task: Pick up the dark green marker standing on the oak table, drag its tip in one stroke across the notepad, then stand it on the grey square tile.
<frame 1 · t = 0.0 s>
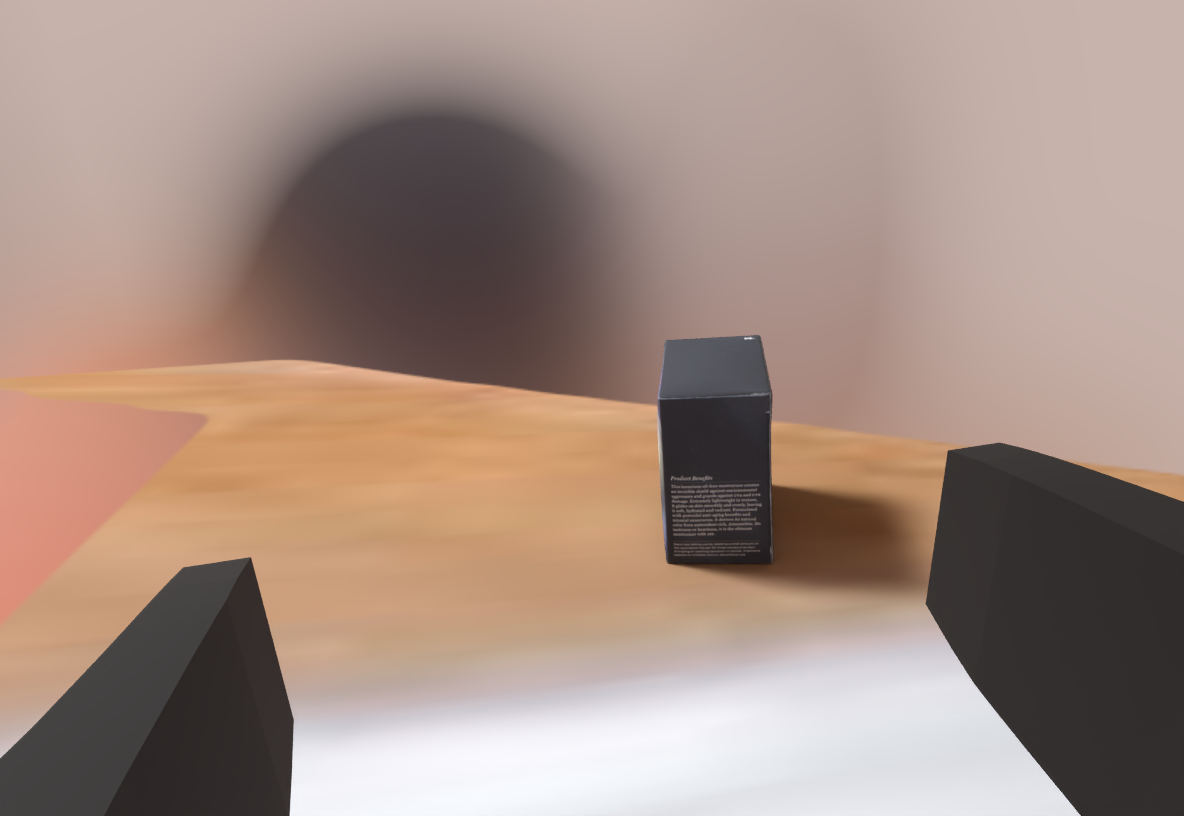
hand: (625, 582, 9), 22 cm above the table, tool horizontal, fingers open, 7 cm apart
small box: (716, 523, 55), on the table
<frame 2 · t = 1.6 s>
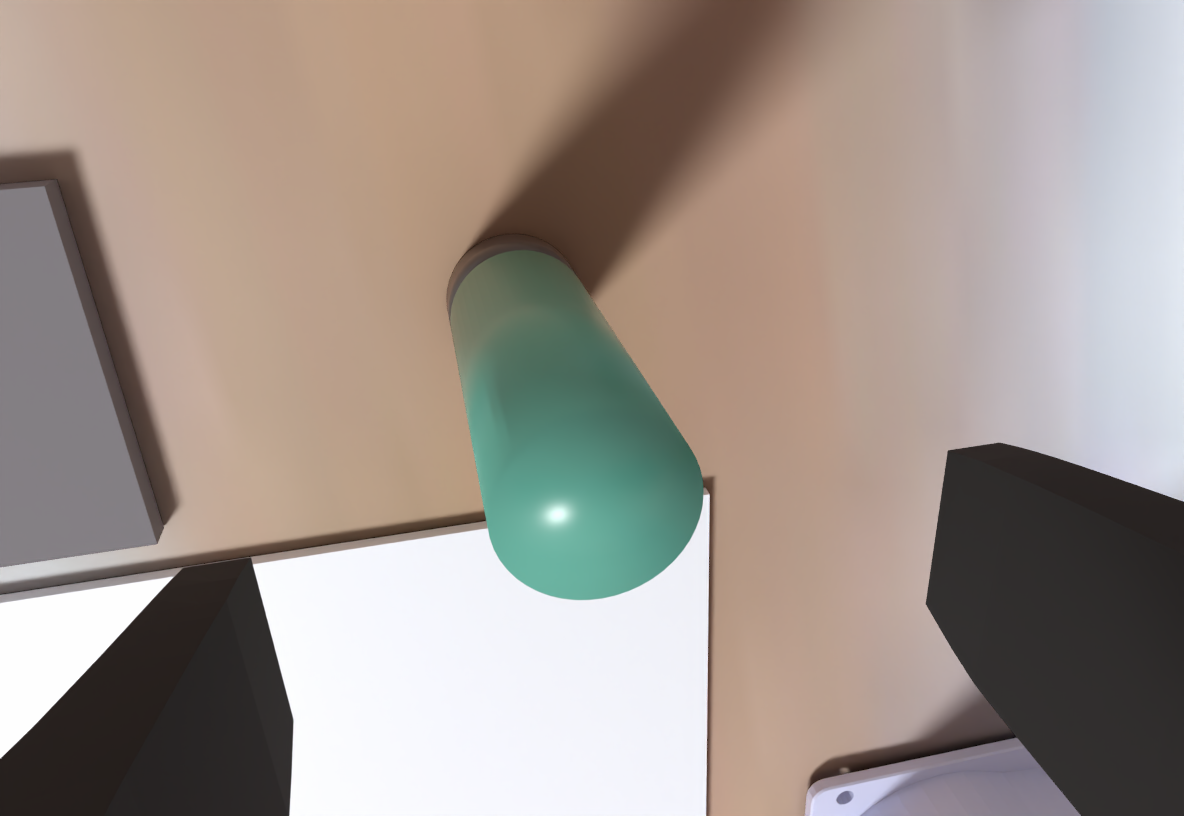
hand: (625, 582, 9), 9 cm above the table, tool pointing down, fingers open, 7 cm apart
notepad: (347, 754, 21), on the table
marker: (513, 298, 17), on the table
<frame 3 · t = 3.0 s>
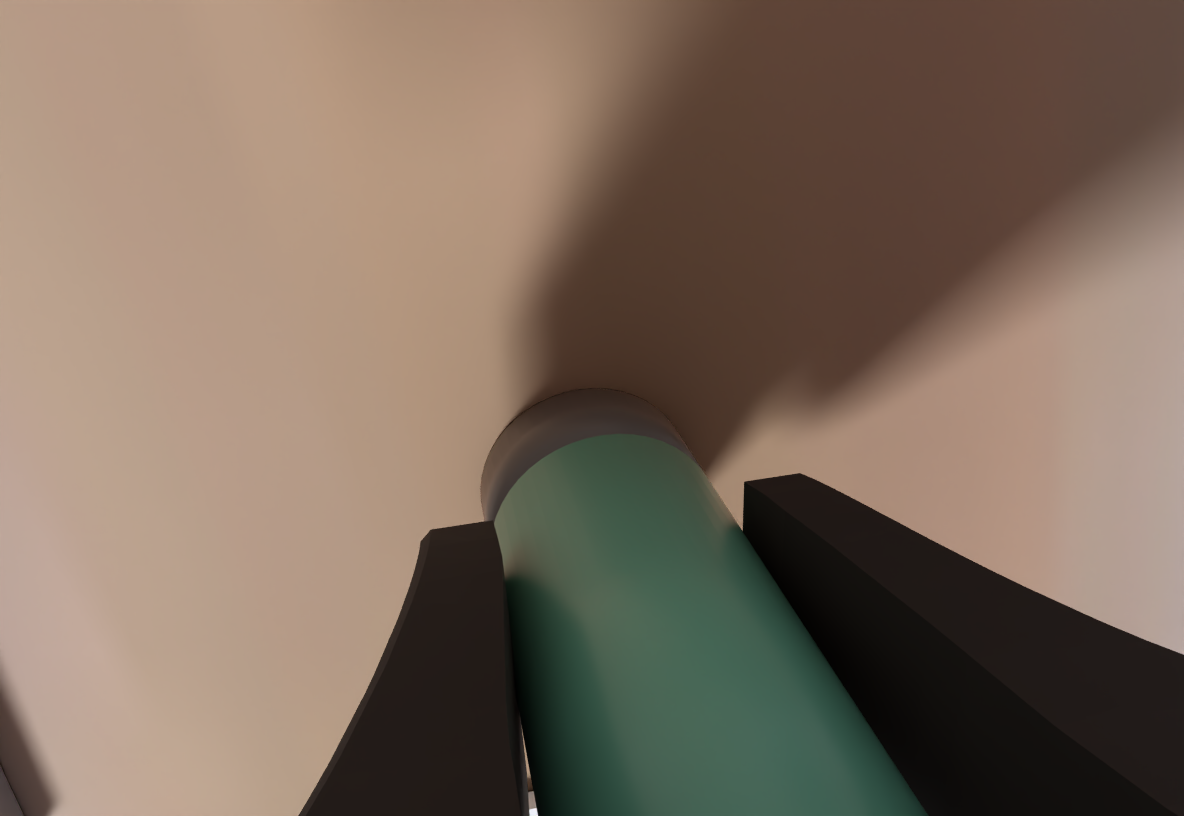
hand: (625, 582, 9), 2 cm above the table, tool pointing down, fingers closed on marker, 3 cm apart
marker: (586, 485, 11), on the table, touching gripper
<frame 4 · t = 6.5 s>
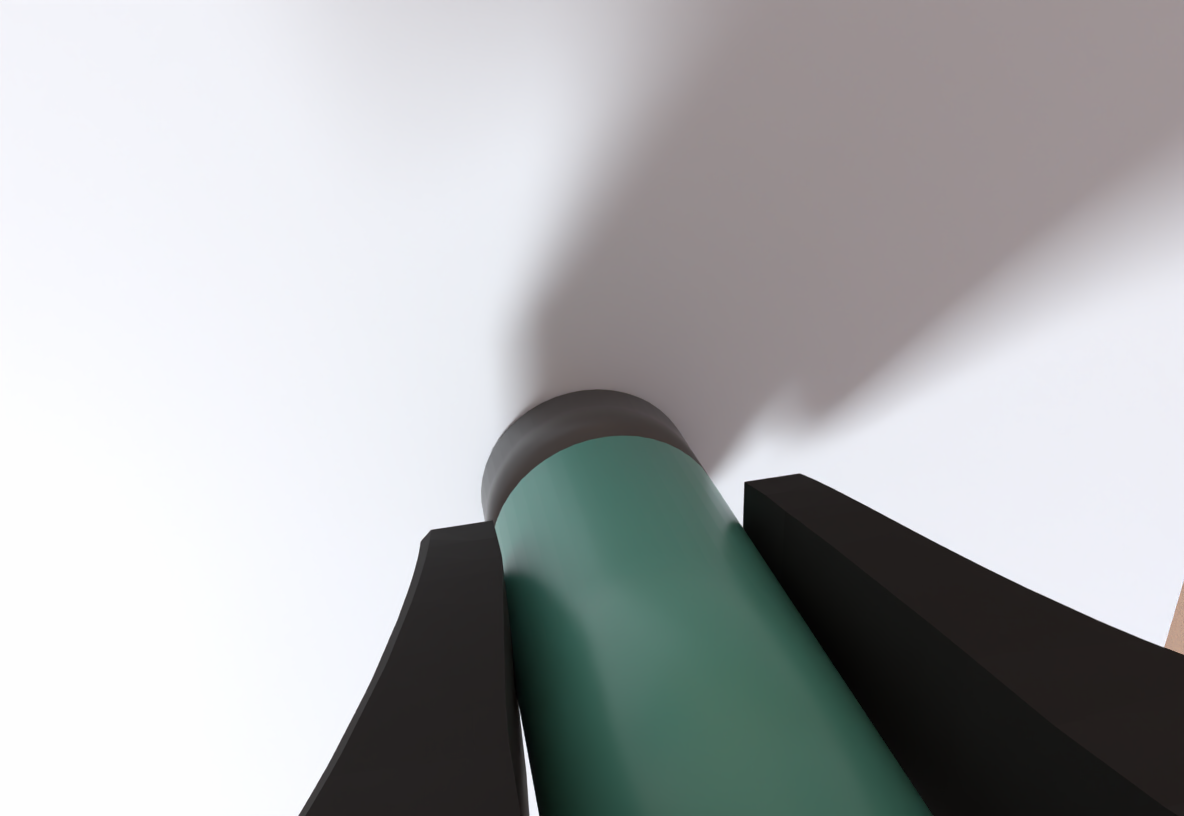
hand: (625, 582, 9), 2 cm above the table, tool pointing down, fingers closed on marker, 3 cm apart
notepad: (604, 475, 11), on the table
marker: (587, 487, 11), resting on notepad, touching gripper
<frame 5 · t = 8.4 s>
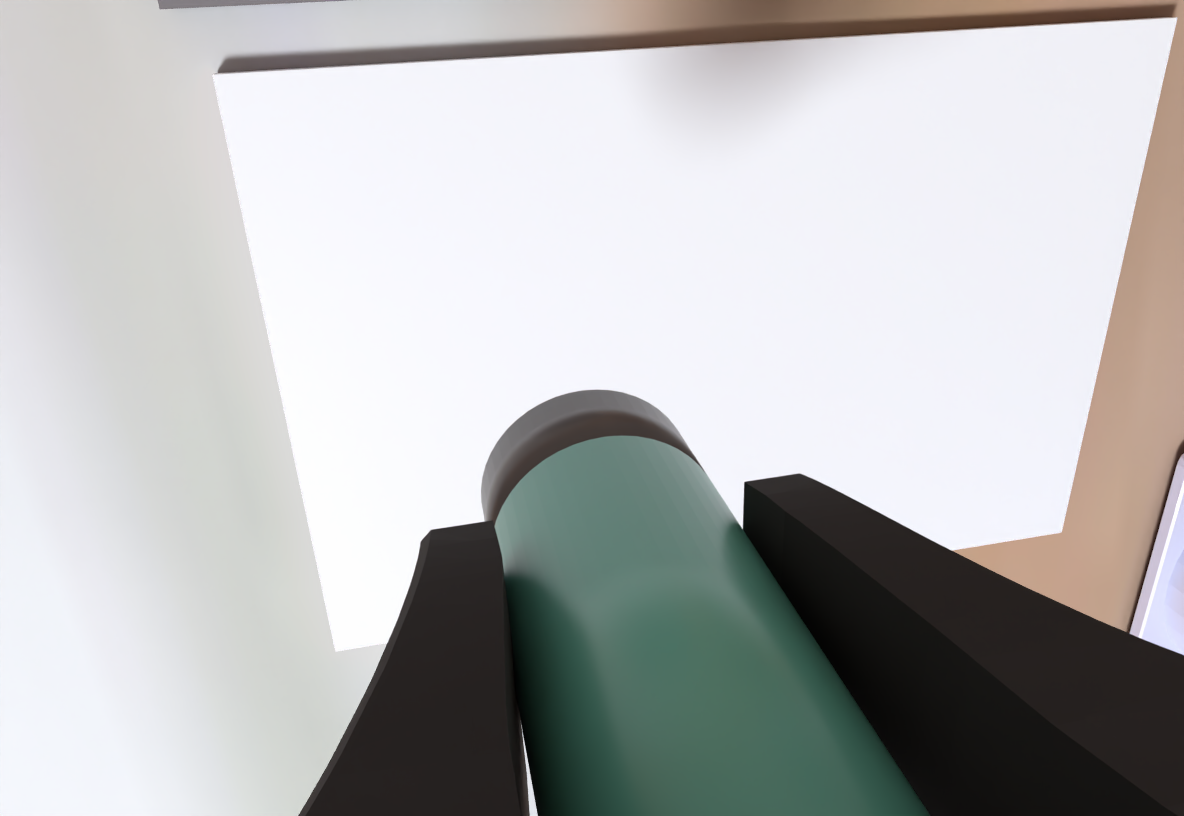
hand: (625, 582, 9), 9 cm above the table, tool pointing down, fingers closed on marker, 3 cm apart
notepad: (725, 348, 19), on the table
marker: (587, 486, 11), point 7 cm above the table, touching gripper
when the fingers open (3 cm above the table, at t = 10.0 s): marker stays where it is, resting on grey square tile.
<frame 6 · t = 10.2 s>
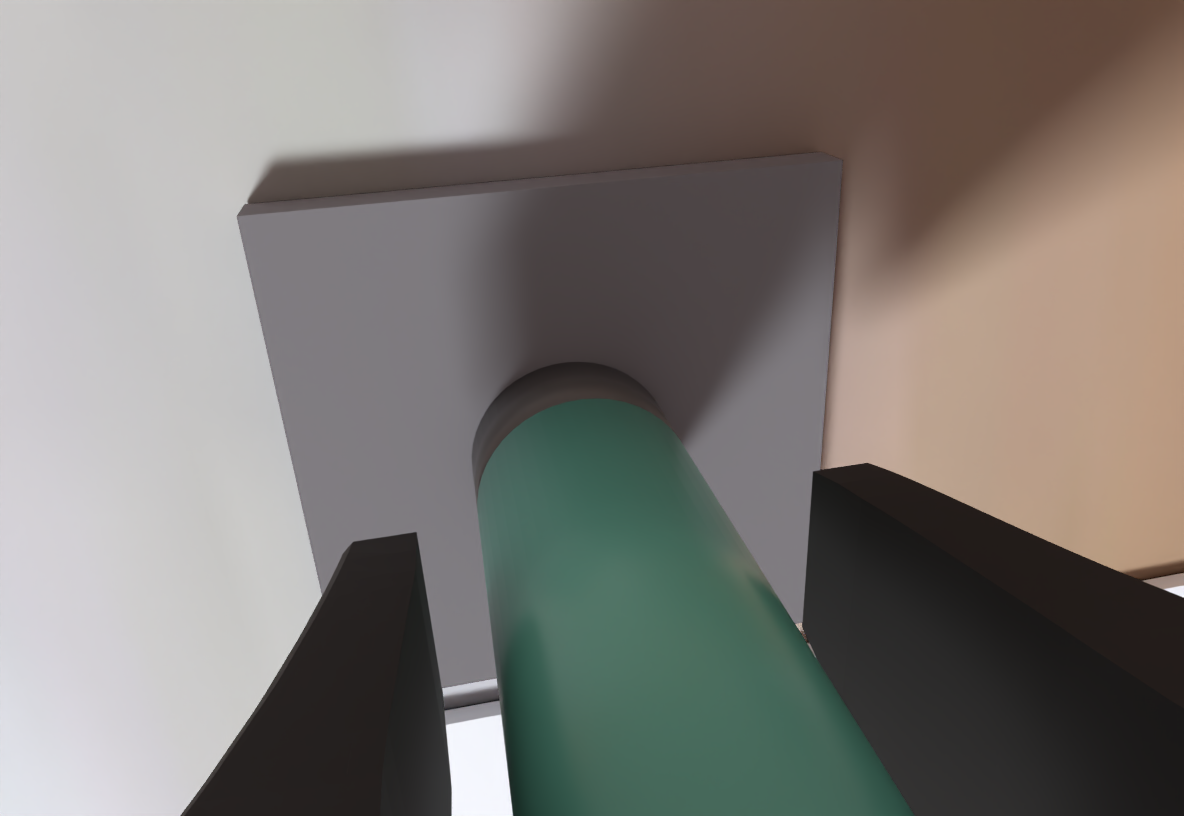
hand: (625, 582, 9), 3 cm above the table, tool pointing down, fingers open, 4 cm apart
grey square tile: (566, 434, 12), on the table
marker: (572, 455, 12), point 1 cm above the table, touching grey square tile
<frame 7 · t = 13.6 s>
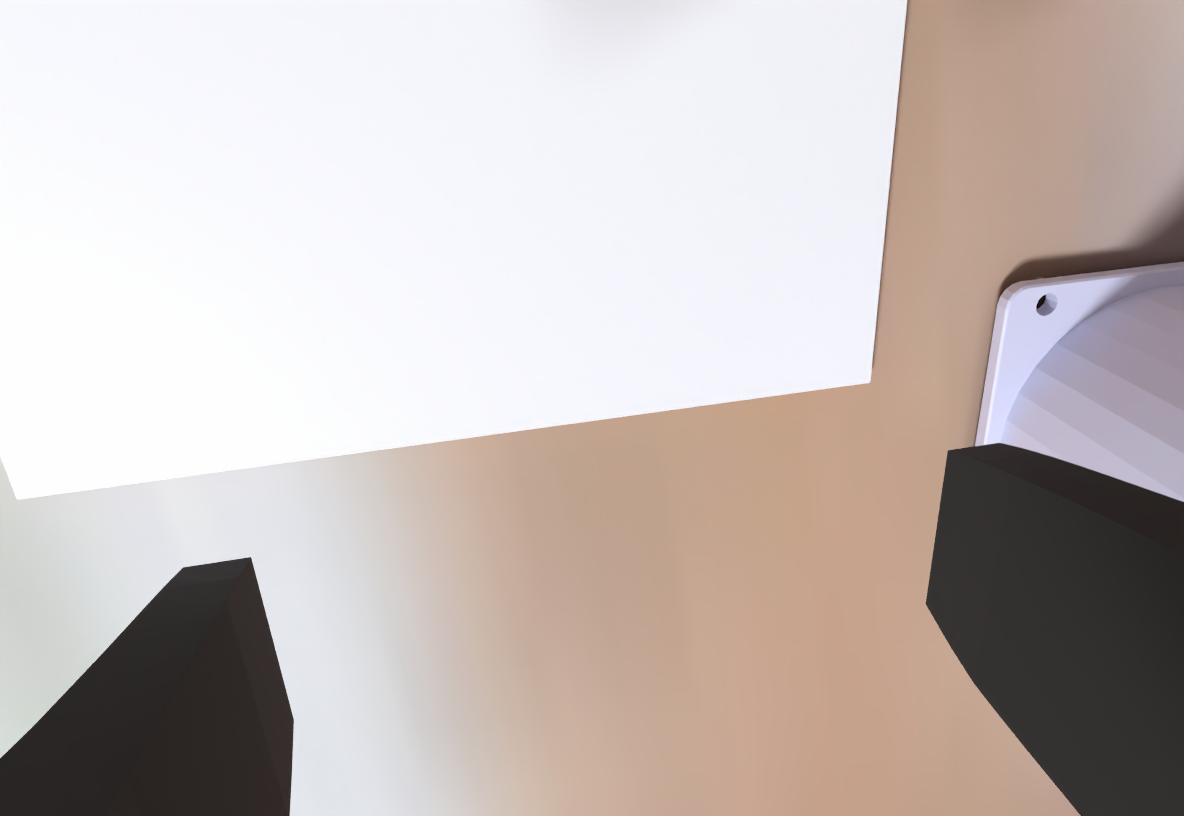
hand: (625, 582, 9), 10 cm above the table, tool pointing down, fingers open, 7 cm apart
notepad: (441, 143, 16), on the table
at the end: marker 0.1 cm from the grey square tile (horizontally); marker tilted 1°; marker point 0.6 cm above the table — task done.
